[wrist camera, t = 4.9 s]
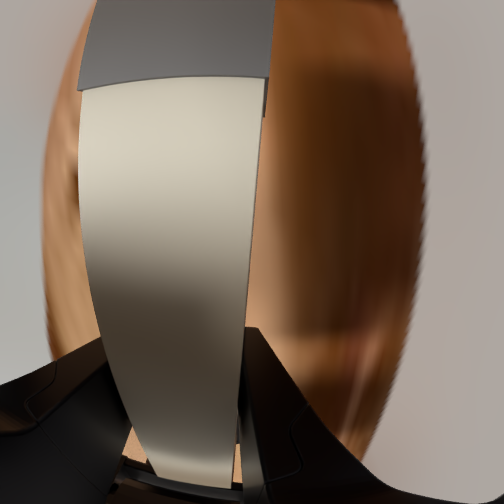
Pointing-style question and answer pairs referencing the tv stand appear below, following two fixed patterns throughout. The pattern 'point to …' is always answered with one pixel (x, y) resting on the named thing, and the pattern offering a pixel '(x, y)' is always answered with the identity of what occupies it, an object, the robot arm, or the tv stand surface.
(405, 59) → the tv stand surface
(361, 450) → the tv stand surface
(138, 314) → the curved white panel
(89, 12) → the tv stand surface
